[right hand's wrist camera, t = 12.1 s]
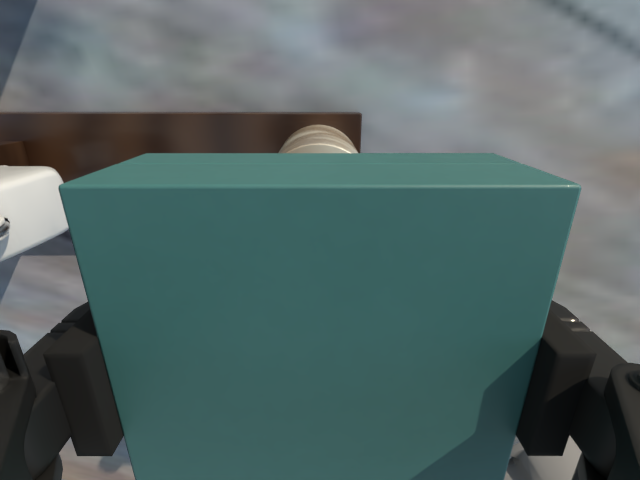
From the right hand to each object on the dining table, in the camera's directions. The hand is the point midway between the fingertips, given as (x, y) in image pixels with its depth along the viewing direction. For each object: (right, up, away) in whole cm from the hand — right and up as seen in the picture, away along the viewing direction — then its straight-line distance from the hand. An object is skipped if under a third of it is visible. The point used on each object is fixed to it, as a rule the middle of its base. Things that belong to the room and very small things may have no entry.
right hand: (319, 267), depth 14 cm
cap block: (0, -1, -2) cm, 3 cm away
